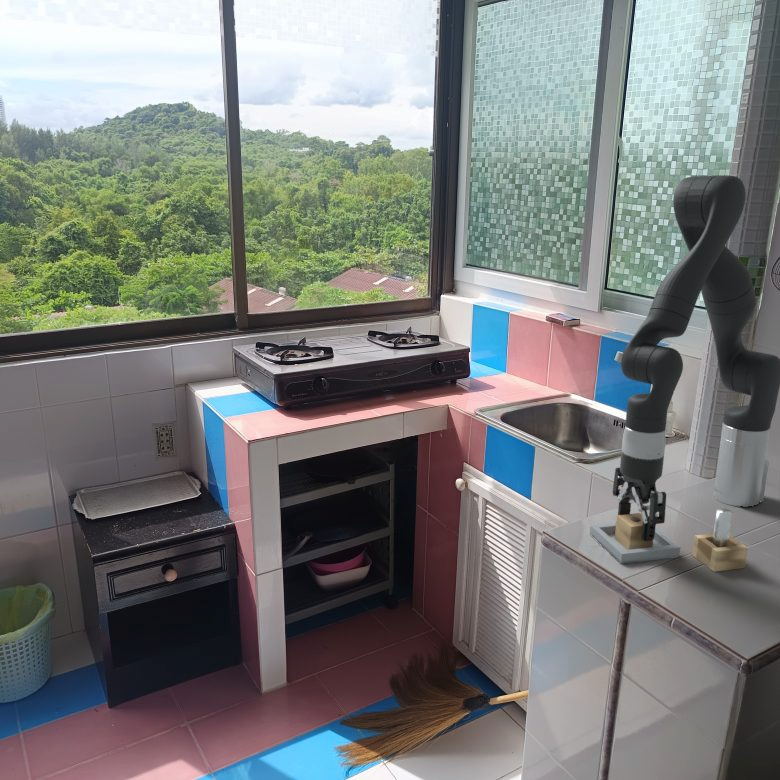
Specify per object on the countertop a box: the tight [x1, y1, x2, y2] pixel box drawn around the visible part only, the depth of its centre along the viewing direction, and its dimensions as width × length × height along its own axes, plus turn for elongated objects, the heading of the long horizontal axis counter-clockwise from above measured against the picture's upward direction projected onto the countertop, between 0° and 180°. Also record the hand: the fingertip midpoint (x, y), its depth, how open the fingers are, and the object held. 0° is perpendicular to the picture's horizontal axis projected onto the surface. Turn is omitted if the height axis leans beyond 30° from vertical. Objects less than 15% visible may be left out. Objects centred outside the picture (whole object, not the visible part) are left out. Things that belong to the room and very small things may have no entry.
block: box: [615, 512, 653, 550], centre depth 141 cm, size 5×5×5 cm
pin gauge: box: [712, 507, 733, 548], centre depth 135 cm, size 3×3×10 cm
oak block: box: [691, 532, 749, 573], centre depth 136 cm, size 6×6×4 cm
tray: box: [589, 522, 682, 565], centre depth 142 cm, size 12×12×2 cm
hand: (634, 530), depth 141 cm, fingers open, 8 cm apart
